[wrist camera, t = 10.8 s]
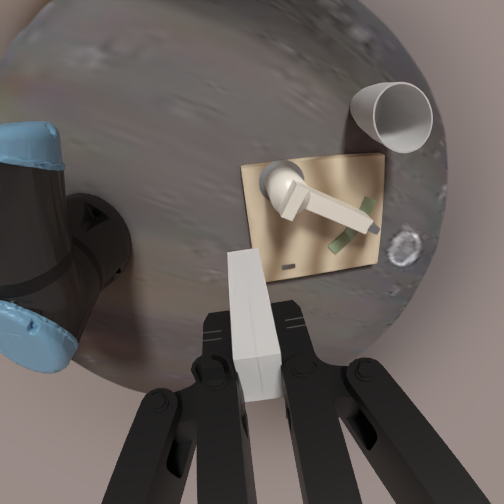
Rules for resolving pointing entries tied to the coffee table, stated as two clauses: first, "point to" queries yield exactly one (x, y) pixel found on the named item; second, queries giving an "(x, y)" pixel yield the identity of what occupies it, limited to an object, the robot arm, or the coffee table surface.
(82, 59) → the coffee table surface
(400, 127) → the cup
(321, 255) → the board
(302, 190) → the lever
